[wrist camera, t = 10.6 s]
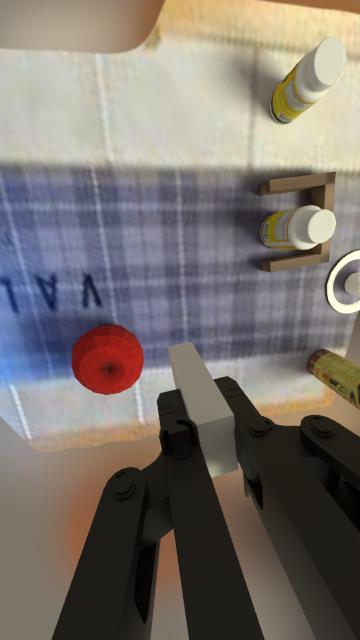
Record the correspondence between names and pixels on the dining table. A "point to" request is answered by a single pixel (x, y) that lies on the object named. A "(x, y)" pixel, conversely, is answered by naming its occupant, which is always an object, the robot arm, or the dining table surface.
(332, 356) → the sauce bottle
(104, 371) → the apple
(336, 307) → the candle holder
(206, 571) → the robot arm
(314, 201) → the pocket
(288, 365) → the dining table surface
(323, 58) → the supplement bottle
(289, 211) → the supplement bottle
